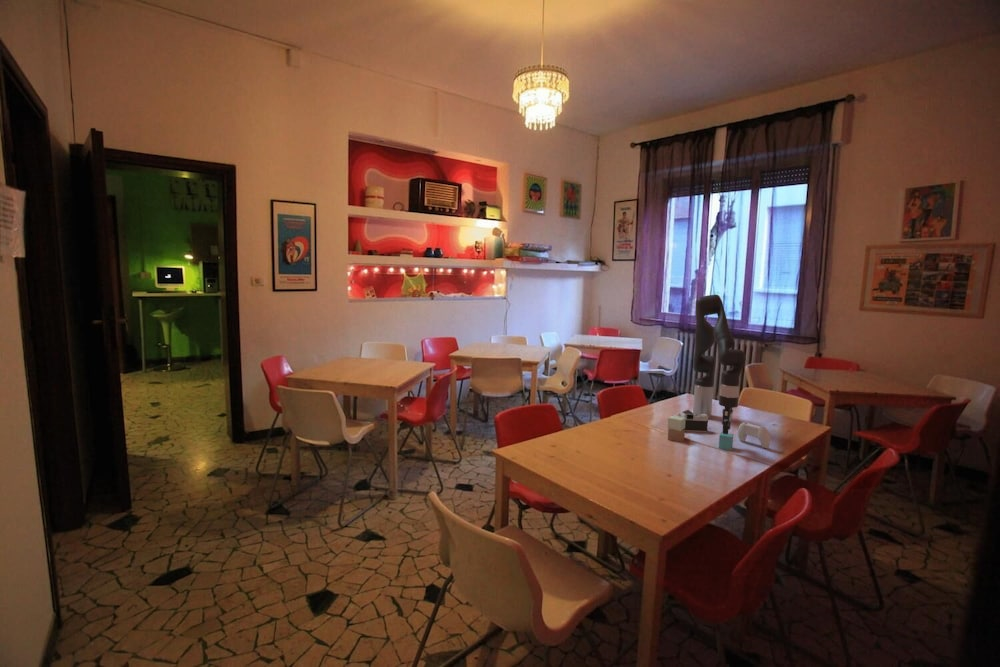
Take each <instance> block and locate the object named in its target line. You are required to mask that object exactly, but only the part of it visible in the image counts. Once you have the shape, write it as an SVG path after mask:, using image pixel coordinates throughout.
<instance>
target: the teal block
mask: <svg viewBox="0 0 1000 667" xmlns="http://www.w3.org/2000/svg"><path fill="white" fill-rule="evenodd" d="M722 432H723V431H722ZM722 432H720V434H719V437H718V438H719V439H718V449H720V450H726V451H730V452H731V451H732V450H733V447H734V446H733V444H734V434H733V433H728V434H723V433H722Z"/></svg>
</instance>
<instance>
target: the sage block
mask: <svg viewBox="0 0 1000 667" xmlns="http://www.w3.org/2000/svg"><path fill="white" fill-rule="evenodd" d="M667 418H668V419H667V430H668V429H673V430H678V431H682V430H683V429H684V428H685V420H686V418H685V417H680V416H675V414H674V415H671V416H668V417H667Z"/></svg>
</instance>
